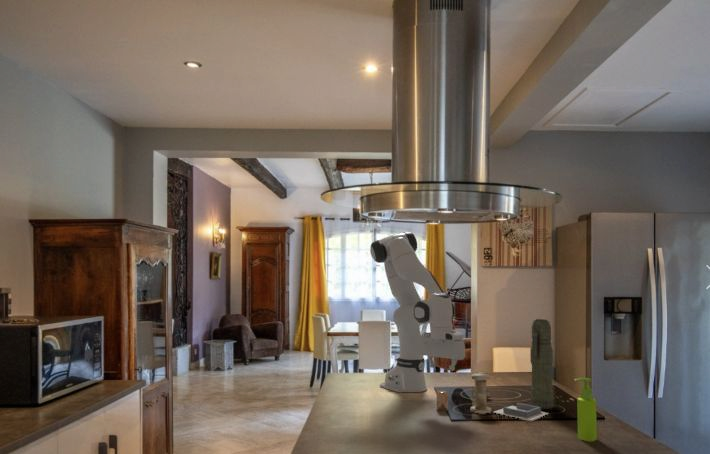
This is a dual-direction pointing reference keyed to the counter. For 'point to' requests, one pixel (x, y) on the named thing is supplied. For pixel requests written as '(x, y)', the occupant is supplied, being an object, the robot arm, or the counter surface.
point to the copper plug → (442, 401)
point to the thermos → (541, 365)
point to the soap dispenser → (586, 413)
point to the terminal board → (522, 412)
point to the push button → (483, 373)
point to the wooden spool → (480, 394)
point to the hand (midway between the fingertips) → (442, 368)
